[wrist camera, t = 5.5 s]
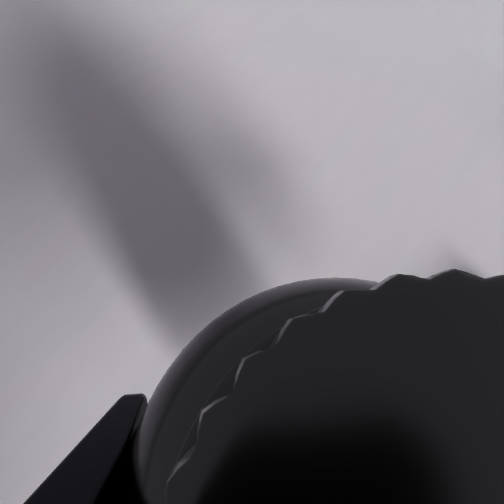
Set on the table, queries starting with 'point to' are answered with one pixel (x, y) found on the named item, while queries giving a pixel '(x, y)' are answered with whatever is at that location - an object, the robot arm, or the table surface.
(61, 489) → the robot arm
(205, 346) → the supplement bottle
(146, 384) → the table surface
